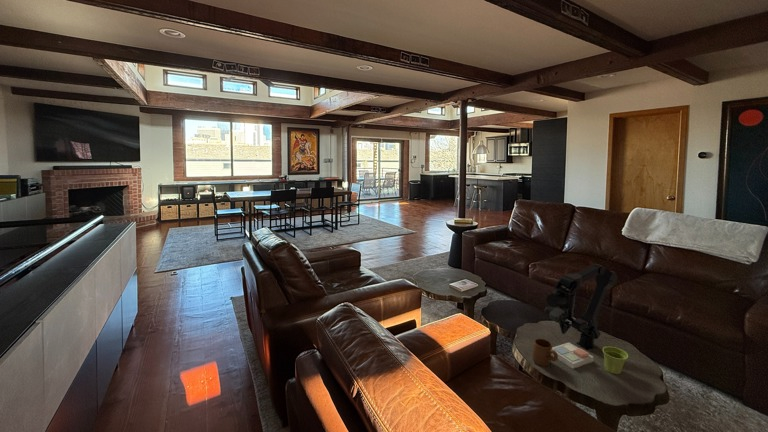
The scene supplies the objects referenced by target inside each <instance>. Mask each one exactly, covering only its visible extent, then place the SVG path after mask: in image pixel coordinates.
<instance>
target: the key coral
mask: <svg viewBox="0 0 768 432" xmlns="http://www.w3.org/2000/svg"><path fill="white" fill-rule="evenodd" d="M578 348H579V347H578ZM573 354H575V355H577V356H578V357H580V358H581V359H583V358H586V357H588V356H589V354H590V353H589V352H588V351H586V350H584V348H581V347H580V348H579V349H576V350H574V352H573Z"/></svg>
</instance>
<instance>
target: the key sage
mask: <svg viewBox="0 0 768 432" xmlns="http://www.w3.org/2000/svg"><path fill="white" fill-rule="evenodd" d="M565 357H566V358H568V359H569V360H571V361H572V362H574V361H577V360H580V358H578V357H576V356H575V355H573V354H572V353H571V354H568V355H565Z"/></svg>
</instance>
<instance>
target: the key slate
mask: <svg viewBox="0 0 768 432" xmlns="http://www.w3.org/2000/svg"><path fill="white" fill-rule="evenodd" d="M554 350H555V351H557V352H558V353H560V354H561V355H564V354H567V353H569V352H568V351H567V350H565V349H563V348H562V347H559V348H556V349H554Z"/></svg>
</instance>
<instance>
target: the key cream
mask: <svg viewBox="0 0 768 432" xmlns="http://www.w3.org/2000/svg"><path fill="white" fill-rule="evenodd" d="M563 347H564V348H565V349H567V350H568V351H570V352H573V351H574V350H576V349H577V348H575V347H573V346H572V345H570V344H569V345H566V346H563Z"/></svg>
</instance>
